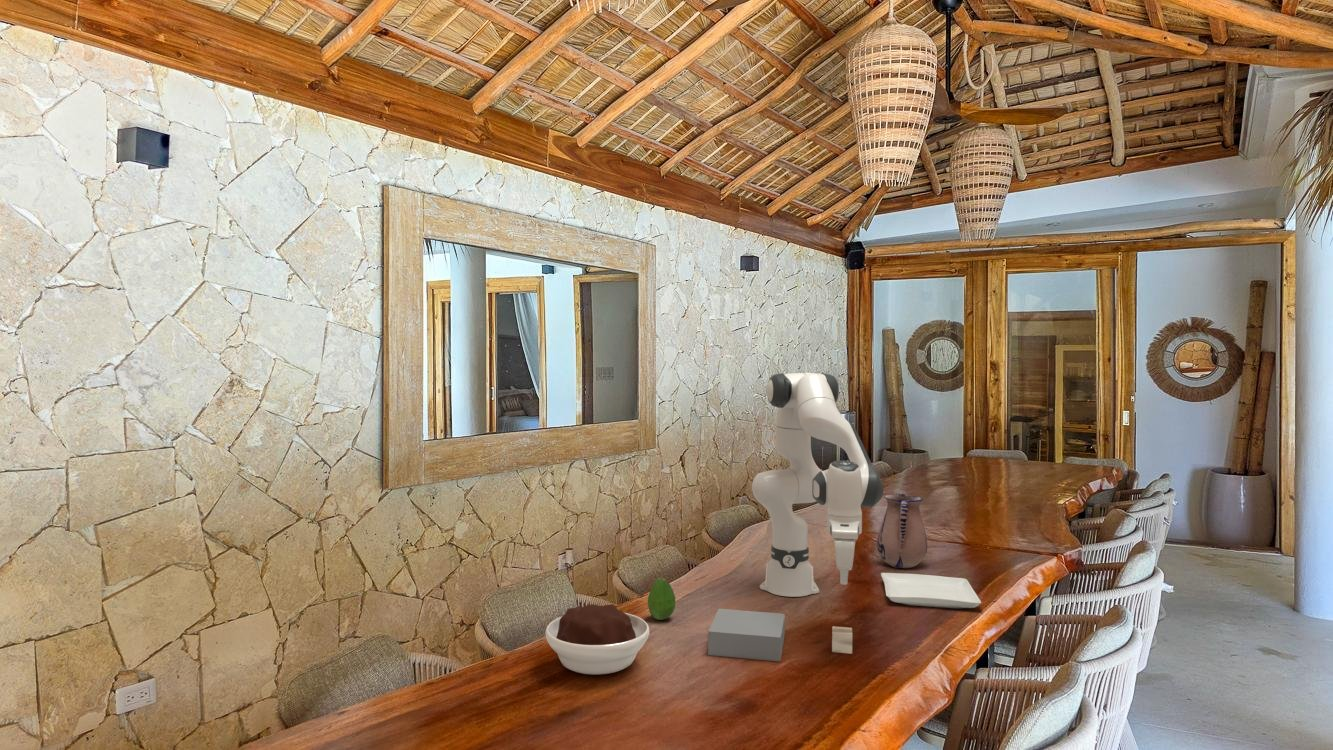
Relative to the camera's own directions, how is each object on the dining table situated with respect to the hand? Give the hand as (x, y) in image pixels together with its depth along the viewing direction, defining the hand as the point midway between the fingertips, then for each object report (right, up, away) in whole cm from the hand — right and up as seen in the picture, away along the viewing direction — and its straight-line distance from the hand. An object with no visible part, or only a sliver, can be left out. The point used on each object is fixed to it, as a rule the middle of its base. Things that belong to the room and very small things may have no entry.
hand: (843, 578), depth 202 cm
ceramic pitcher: (+39, -17, +80) cm, 91 cm away
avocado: (-47, -17, +22) cm, 54 cm away
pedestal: (-24, -18, +3) cm, 30 cm away
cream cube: (0, -18, +1) cm, 18 cm away
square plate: (+37, -18, +46) cm, 62 cm away
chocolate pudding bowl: (-62, -18, -12) cm, 66 cm away
